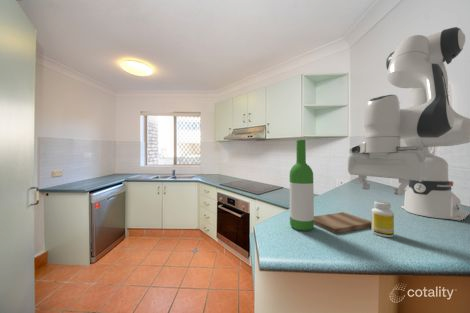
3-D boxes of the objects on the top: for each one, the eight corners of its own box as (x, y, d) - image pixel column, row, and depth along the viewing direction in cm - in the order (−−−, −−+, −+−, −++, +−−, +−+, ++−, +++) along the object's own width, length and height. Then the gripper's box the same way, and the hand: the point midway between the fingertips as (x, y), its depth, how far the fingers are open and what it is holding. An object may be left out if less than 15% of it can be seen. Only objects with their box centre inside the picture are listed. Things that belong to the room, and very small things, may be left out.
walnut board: (343, 215, 74) (343, 212, 74) (374, 226, 62) (374, 222, 62) (307, 221, 68) (307, 217, 68) (334, 233, 57) (334, 229, 57)
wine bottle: (307, 222, 66) (306, 141, 66) (318, 231, 58) (317, 138, 59) (286, 223, 66) (286, 141, 66) (294, 232, 58) (294, 138, 58)
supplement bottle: (398, 238, 53) (398, 205, 53) (377, 237, 54) (377, 204, 54) (386, 231, 58) (386, 200, 59) (368, 229, 60) (367, 200, 60)
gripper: (432, 145, 48) (432, 198, 47) (357, 149, 67) (357, 186, 67) (417, 144, 46) (417, 199, 45) (344, 148, 65) (344, 187, 65)
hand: (381, 191), depth 56 cm, fingers open, 8 cm apart
